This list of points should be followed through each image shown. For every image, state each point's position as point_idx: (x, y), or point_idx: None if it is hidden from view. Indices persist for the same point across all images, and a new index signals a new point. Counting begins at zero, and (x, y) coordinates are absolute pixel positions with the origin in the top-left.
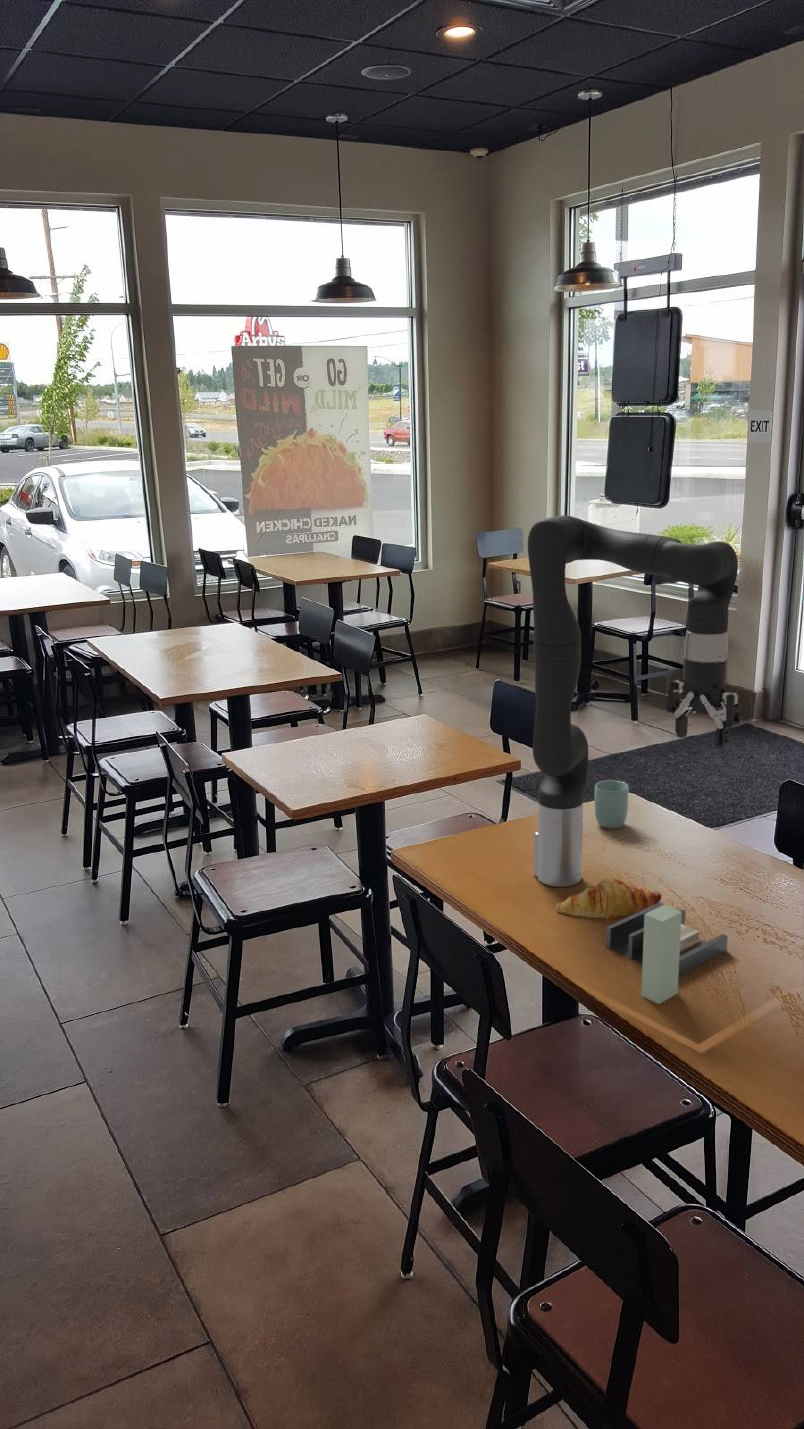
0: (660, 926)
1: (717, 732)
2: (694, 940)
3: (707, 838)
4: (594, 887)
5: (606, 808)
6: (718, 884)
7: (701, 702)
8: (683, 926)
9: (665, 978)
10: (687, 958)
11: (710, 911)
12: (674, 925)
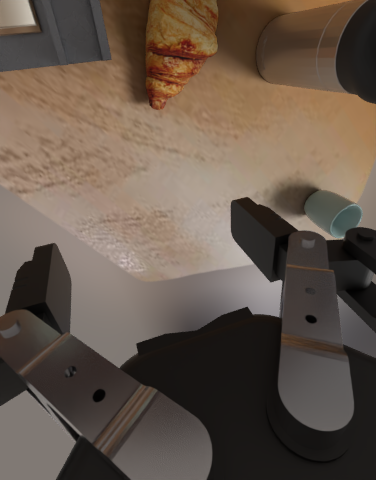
0: None
1: (38, 288)
2: None
3: (235, 258)
4: (205, 9)
5: (328, 199)
6: (158, 206)
7: (200, 388)
8: (16, 18)
9: None
10: None
11: (110, 152)
12: None
